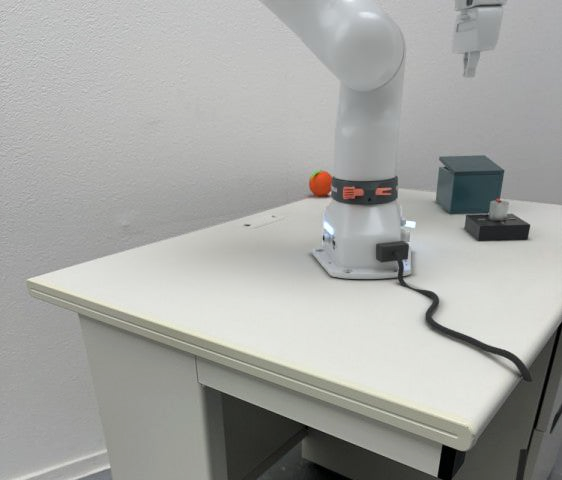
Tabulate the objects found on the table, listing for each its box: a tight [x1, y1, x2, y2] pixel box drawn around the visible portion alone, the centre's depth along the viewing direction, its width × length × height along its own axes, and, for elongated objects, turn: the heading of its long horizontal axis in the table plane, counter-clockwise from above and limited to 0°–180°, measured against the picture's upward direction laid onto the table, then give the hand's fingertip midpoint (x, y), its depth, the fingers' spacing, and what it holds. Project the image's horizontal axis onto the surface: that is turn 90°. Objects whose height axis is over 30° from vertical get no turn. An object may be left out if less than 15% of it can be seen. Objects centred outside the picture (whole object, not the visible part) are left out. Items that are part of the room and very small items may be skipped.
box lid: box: [438, 154, 505, 175], centre depth 134 cm, size 16×12×1 cm
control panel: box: [463, 213, 531, 242], centre depth 114 cm, size 10×10×3 cm
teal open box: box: [435, 166, 505, 215], centre depth 136 cm, size 15×12×9 cm
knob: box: [488, 198, 510, 221], centre depth 112 cm, size 4×4×4 cm
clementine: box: [308, 169, 333, 197], centre depth 154 cm, size 8×7×7 cm
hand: (468, 77), depth 116 cm, fingers closed
